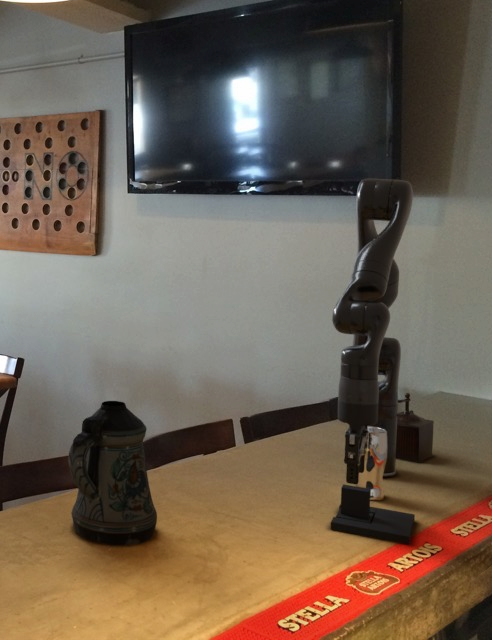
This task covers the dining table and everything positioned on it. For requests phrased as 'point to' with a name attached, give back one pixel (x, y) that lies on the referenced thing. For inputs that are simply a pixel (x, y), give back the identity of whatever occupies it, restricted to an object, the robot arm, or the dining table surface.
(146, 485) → the beer stein
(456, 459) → the dining table surface
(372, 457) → the beer glass
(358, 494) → the black upright tab block
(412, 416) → the brown coffee grinder
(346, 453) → the robot arm
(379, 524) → the large pad
